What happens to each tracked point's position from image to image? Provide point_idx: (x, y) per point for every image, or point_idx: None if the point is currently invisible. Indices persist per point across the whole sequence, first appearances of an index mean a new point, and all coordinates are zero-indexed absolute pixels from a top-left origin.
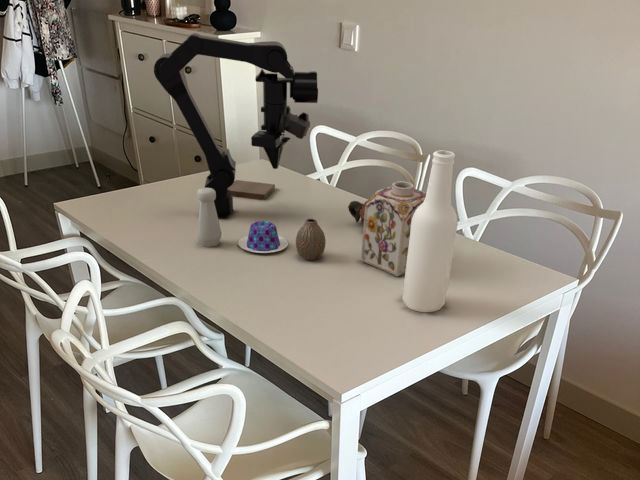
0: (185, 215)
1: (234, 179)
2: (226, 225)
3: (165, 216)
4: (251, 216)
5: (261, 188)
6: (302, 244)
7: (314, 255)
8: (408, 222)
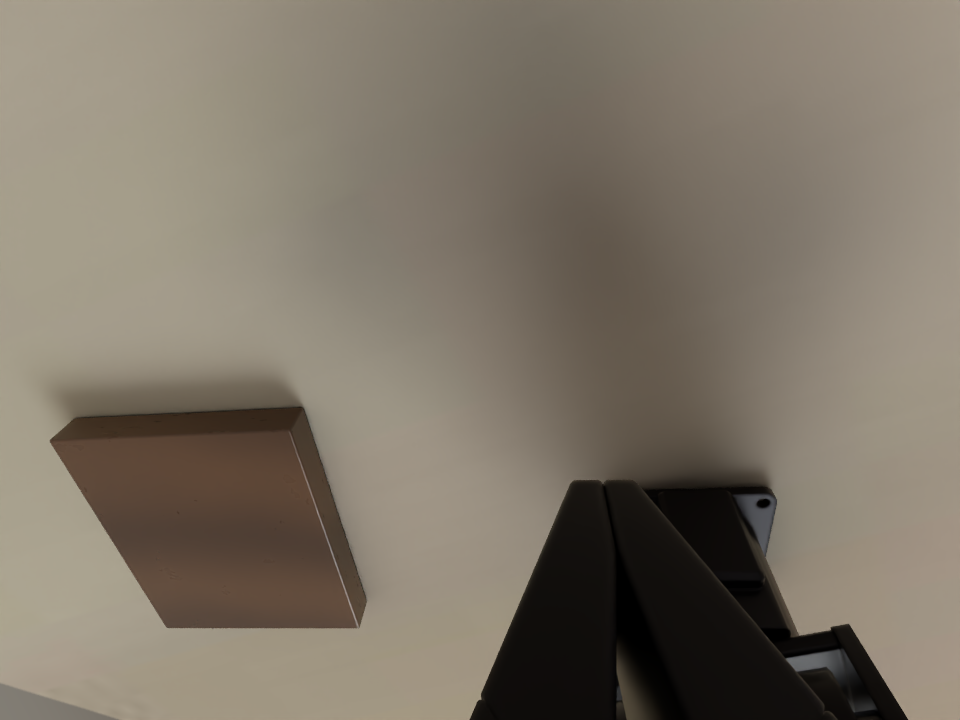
0: None
1: (851, 712)
2: (886, 446)
3: None
4: (661, 371)
5: (191, 483)
6: None
7: None
8: None
